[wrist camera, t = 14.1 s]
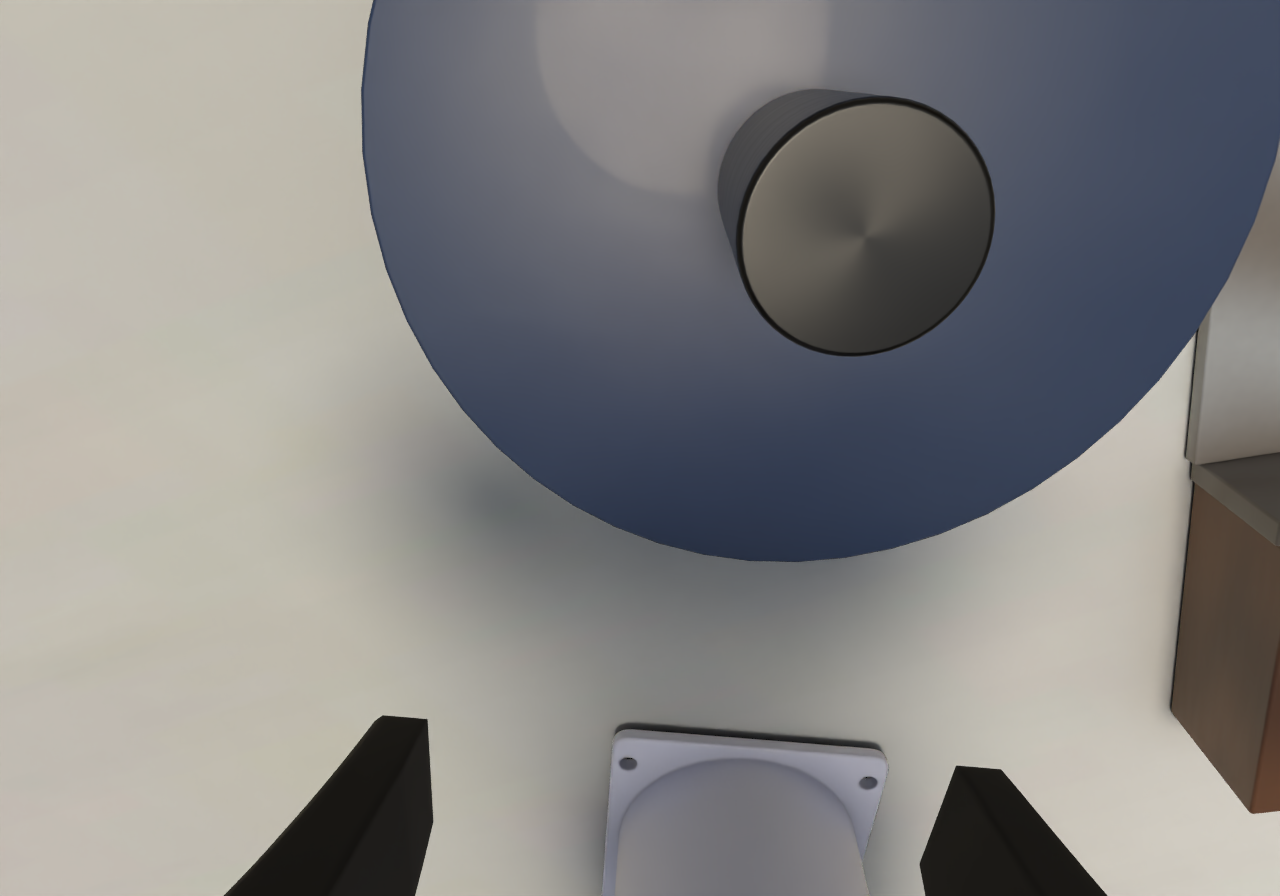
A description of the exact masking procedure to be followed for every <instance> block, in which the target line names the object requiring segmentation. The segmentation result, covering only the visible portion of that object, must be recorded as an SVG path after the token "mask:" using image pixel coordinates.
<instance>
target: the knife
mask: <svg viewBox="0 0 1280 896" xmlns="http://www.w3.org/2000/svg"><path fill="white" fill-rule="evenodd" d="M1186 459H1187V460H1189V461H1190V462H1191V463H1192V471H1191V479H1192V481H1194V482H1195V488H1194V497H1193V507H1192V516H1191V526H1190V535H1189V545H1188V554H1187V564H1186V574H1185V583H1184V593H1183V602H1182V612H1181V621H1180V631H1179V640H1178V650H1177V660H1176V669H1175V679H1174V688H1173V698H1172V707H1171V712H1172V713H1173V715H1174V716H1175V717H1176V718H1177V720H1178V721H1179V722H1180V724H1181V725H1182V726H1183V727H1184V729H1185V730H1186V731H1187V733H1188V734H1189V735H1190V736H1191V738H1192V739H1193V740H1194V742H1195V743H1196V744H1197V745H1198V747H1199V748H1200V749H1201V751H1202V752H1203V753H1204V754H1205V756H1206V757H1207V758H1208V760H1209V761H1210V762H1211V763H1212V765H1213V766H1214V767H1215V768H1216V770H1217V771H1218V772H1219V774H1220V775H1221V776H1222V777H1223V779H1224V780H1225V781H1226V783H1227V784H1228V785H1229V786H1230V788H1231V789H1232V790H1233V792H1234V793H1235V794H1236V795H1237V797H1238V798H1239V799H1240V801H1241V802H1242V803H1243V804H1244V806H1245V807H1246V808H1247V810H1248V811H1249V812H1250V813H1252V814H1256V813H1266V812H1275V811H1280V142H1279V147H1278V151H1277V156H1276V160H1275V163H1274V166H1273V169H1272V172H1271V175H1270V178H1269V181H1268V184H1267V187H1266V190H1265V193H1264V196H1263V199H1262V202H1261V205H1260V208H1259V211H1258V214H1257V217H1256V220H1255V223H1254V225H1253V227H1252V229H1251V231H1250V233H1249V236H1248V238H1247V240H1246V242H1245V244H1244V246H1243V248H1242V251H1241V253H1240V255H1239V257H1238V259H1237V261H1236V263H1235V266H1234V268H1233V270H1232V272H1231V274H1230V276H1229V278H1228V280H1227V282H1226V284H1225V285H1224V287H1223V288H1222V290H1221V292H1220V293H1219V295H1218V297H1217V298H1216V300H1215V302H1214V303H1213V305H1212V307H1211V308H1210V310H1209V311H1208V313H1207V315H1206V316H1205V318H1204V320H1203V321H1202V323H1201V325H1200V326H1199V328H1198V338H1197V349H1196V359H1195V369H1194V379H1193V390H1192V400H1191V410H1190V420H1189V431H1188V441H1187V451H1186Z"/></svg>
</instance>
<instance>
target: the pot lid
mask: <svg viewBox="0 0 1280 896" xmlns="http://www.w3.org/2000/svg"><path fill="white" fill-rule="evenodd" d="M361 103H362V152H363V160H364V167H365V174H366V181H367V188H368V195H369V202H370V209H371V215H372V219H373V222H374V226H375V230H376V234H377V237H378V241H379V245H380V248H381V252H382V256H383V260H384V263H385V267H386V270H387V273H388V275H389V278H390V280H391V283H392V285H393V288H394V290H395V293H396V295H397V298H398V300H399V303H400V305H401V308H402V310H403V313H404V315H405V318H406V320H407V322H408V324H409V326H410V328H411V330H412V331H413V333H414V335H415V337H416V339H417V340H418V342H419V344H420V346H421V348H422V350H423V351H424V353H425V355H426V357H427V359H428V361H429V362H430V364H431V366H432V368H433V369H434V371H435V372H436V373H437V375H438V376H439V378H440V379H441V380H442V382H443V383H444V385H445V386H446V387H447V389H448V390H449V392H450V393H451V394H452V396H453V397H454V399H455V400H456V401H457V403H458V404H459V406H460V407H461V408H462V410H463V411H464V412H465V413H466V414H467V415H468V416H469V417H470V419H471V420H472V421H473V422H474V423H475V424H476V425H477V426H478V427H479V428H480V429H481V431H482V432H483V433H484V434H485V435H486V436H487V437H488V438H489V439H490V440H491V441H492V443H493V444H494V445H495V446H496V447H497V448H498V449H499V450H501V451H502V452H503V453H504V454H505V455H506V456H508V457H509V458H510V459H511V460H512V461H513V462H515V463H516V464H517V465H518V466H519V467H520V468H522V469H523V470H524V471H525V472H526V473H527V474H529V475H530V476H531V477H532V478H533V479H535V480H536V481H538V482H539V483H541V484H542V485H544V486H545V487H546V488H548V489H549V490H551V491H552V492H554V493H555V494H557V495H558V496H560V497H561V498H563V499H564V500H566V501H567V502H569V503H570V504H572V505H573V506H575V507H577V508H579V509H581V510H583V511H585V512H587V513H589V514H591V515H593V516H595V517H597V518H599V519H600V520H602V521H604V522H606V523H608V524H610V525H612V526H614V527H616V528H619V529H622V530H624V531H627V532H630V533H632V534H635V535H638V536H640V537H643V538H646V539H648V540H651V541H654V542H656V543H659V544H663V545H667V546H671V547H675V548H679V549H683V550H687V551H691V552H695V553H699V554H703V555H710V556H717V557H725V558H732V559H740V560H747V561H776V562H803V561H815V560H826V559H838V558H847V557H852V556H857V555H862V554H868V553H873V552H878V551H883V550H888V549H893V548H896V547H899V546H903V545H906V544H909V543H913V542H916V541H919V540H922V539H926V538H929V537H932V536H935V535H939V534H941V533H944V532H946V531H948V530H951V529H953V528H956V527H958V526H960V525H963V524H965V523H967V522H970V521H972V520H974V519H977V518H979V517H982V516H984V515H986V514H988V513H990V512H992V511H994V510H995V509H997V508H999V507H1001V506H1003V505H1005V504H1006V503H1008V502H1010V501H1012V500H1014V499H1015V498H1017V497H1019V496H1021V495H1023V494H1025V493H1026V492H1028V491H1030V490H1032V489H1033V488H1035V487H1036V486H1038V485H1039V484H1041V483H1042V482H1044V481H1045V480H1046V479H1048V478H1049V477H1051V476H1052V475H1054V474H1055V473H1057V472H1058V471H1059V470H1061V469H1062V468H1064V467H1065V466H1067V465H1068V464H1069V463H1071V462H1072V461H1074V460H1075V459H1077V458H1078V457H1079V456H1080V455H1081V454H1083V453H1084V452H1085V451H1086V450H1087V449H1088V448H1090V447H1091V446H1092V445H1093V444H1094V443H1095V442H1097V441H1098V440H1099V439H1100V438H1101V437H1102V436H1104V435H1105V434H1106V433H1107V432H1108V431H1109V430H1111V429H1112V428H1113V427H1114V426H1115V425H1116V424H1118V423H1119V422H1120V421H1121V420H1122V419H1123V418H1124V417H1125V416H1126V415H1127V413H1128V412H1129V411H1130V410H1131V409H1132V408H1133V407H1134V406H1135V405H1136V404H1137V403H1138V402H1139V401H1140V400H1141V399H1142V398H1143V397H1144V396H1145V394H1146V393H1147V392H1148V391H1149V390H1150V389H1151V388H1152V387H1153V386H1154V385H1155V384H1156V383H1157V382H1158V381H1159V380H1160V378H1161V377H1162V376H1163V375H1164V373H1165V372H1166V371H1167V369H1168V368H1169V367H1170V365H1171V364H1172V363H1173V361H1174V360H1175V359H1176V358H1177V356H1178V355H1179V354H1180V352H1181V351H1182V350H1183V348H1184V347H1185V346H1186V344H1187V343H1188V342H1189V341H1190V339H1191V338H1192V337H1193V335H1194V334H1195V333H1196V331H1197V330H1198V328H1199V326H1200V325H1201V323H1202V321H1203V320H1204V318H1205V316H1206V315H1207V313H1208V311H1209V310H1210V308H1211V307H1212V305H1213V303H1214V302H1215V300H1216V298H1217V297H1218V295H1219V293H1220V292H1221V290H1222V288H1223V287H1224V285H1225V284H1226V282H1227V280H1228V278H1229V276H1230V274H1231V272H1232V270H1233V268H1234V266H1235V263H1236V261H1237V259H1238V257H1239V255H1240V253H1241V251H1242V248H1243V246H1244V244H1245V242H1246V240H1247V238H1248V236H1249V233H1250V231H1251V229H1252V227H1253V225H1254V223H1255V220H1256V217H1257V214H1258V211H1259V208H1260V205H1261V202H1262V199H1263V196H1264V193H1265V190H1266V187H1267V184H1268V181H1269V178H1270V175H1271V172H1272V169H1273V166H1274V163H1275V160H1276V156H1277V151H1278V147H1279V142H1280V0H373V4H372V8H371V13H370V17H369V21H368V28H367V38H366V48H365V58H364V67H363V77H362V87H361Z"/></svg>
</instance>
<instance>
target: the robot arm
mask: <svg viewBox="0 0 1280 896" xmlns="http://www.w3.org/2000/svg"><path fill="white" fill-rule="evenodd" d="M626 757H630V758H633V759H630V760H628V759H624V758H626ZM888 771H889V765H888V762H887V759H886V757H885V755H884V753H882V752H881V751H879V750H876V749H870V748H858V747H845V746H833V745H821V744H808V743H796V742H783V741H771V740H758V739H746V738H733V737H721V736H709V735H696V734H684V733H671V732H659V731H646V730H634V729H627V730H622V731H620V732H618V733H617V734H616V735H615V736H614V739H613V744H612V757H611V771H610V785H609V799H608V813H607V827H606V841H605V855H604V869H603V883H602V896H869V891H868V887H867V883H866V879H865V875H864V870H863V866H862V862H863V858H864V855H865V851H866V848H867V844H868V841H869V837H870V834H871V831H872V827H873V824H874V820H875V817H876V813H877V810H878V806H879V803H880V799H881V796H882V792H883V789H884V785H885V782H886V778H887V775H888ZM864 777H870V778H865V779H863V778H864ZM432 825H433V809H432V791H431V773H430V756H429V738H428V720H427V719H418V718H407V717H395V716H384V715H383V716H381V717H380V718H378V719H377V720H376V721H375V722H374V723H373V724H372V726H371V727H370V728H369V729H368V731H367V732H366V733H365V735H364V736H363V737H362V739H361V740H360V741H359V742H358V744H357V745H356V746H355V747H354V749H353V750H352V751H351V752H350V754H349V755H348V756H347V757H346V759H345V760H344V761H343V762H342V764H341V765H340V766H339V767H338V769H337V770H336V771H335V772H334V773H333V775H332V776H331V777H330V778H329V779H328V781H327V782H326V783H325V784H324V785H323V787H322V788H321V789H320V790H319V791H318V793H317V794H316V795H315V796H314V797H313V799H312V800H311V801H310V802H309V803H308V804H307V806H306V807H305V808H304V809H303V810H302V811H301V812H300V813H299V815H298V816H297V817H296V818H295V819H294V820H293V821H292V823H291V824H290V825H289V826H288V827H287V828H286V829H285V830H284V832H283V833H282V834H281V835H280V836H279V837H278V838H277V839H276V841H275V842H274V843H273V844H272V845H271V846H270V847H269V848H268V850H267V851H266V852H265V853H264V854H263V855H262V856H261V857H260V858H259V859H258V861H257V862H256V863H255V864H254V865H253V866H252V867H251V868H250V869H249V870H248V871H247V872H246V873H245V874H244V875H243V876H242V877H241V878H240V880H239V881H238V882H237V883H236V884H235V885H234V886H233V887H232V888H231V889H230V890H229V891H228V892H227V893H226V894H225V895H224V896H415V894H416V890H417V886H418V882H419V878H420V874H421V870H422V866H423V862H424V858H425V854H426V850H427V846H428V841H429V837H430V833H431V829H432ZM920 869H921V874H922V880H923V885H924V890H925V896H1107V895H1106V894H1105V892H1104V891H1103V890H1102V889H1101V888H1100V887H1099V885H1098V884H1097V883H1096V882H1095V881H1094V880H1093V878H1092V877H1091V876H1090V875H1089V874H1088V873H1087V871H1086V870H1085V869H1084V868H1083V867H1082V865H1081V864H1080V863H1079V862H1078V861H1077V859H1076V858H1075V857H1074V856H1073V855H1072V854H1071V852H1070V851H1069V850H1068V849H1067V848H1066V846H1065V845H1064V844H1063V843H1062V842H1061V840H1060V839H1059V838H1058V837H1057V836H1056V834H1055V833H1054V832H1053V831H1052V830H1051V828H1050V827H1049V826H1048V825H1047V824H1046V822H1045V821H1044V820H1043V819H1042V818H1041V816H1040V815H1039V814H1038V813H1037V812H1036V810H1035V809H1034V808H1033V807H1032V806H1031V804H1030V803H1029V802H1028V801H1027V800H1026V798H1025V797H1024V796H1023V795H1022V794H1021V792H1020V791H1019V790H1018V789H1017V788H1016V786H1015V785H1014V784H1013V783H1012V782H1011V781H1010V779H1009V778H1008V777H1007V776H1006V775H1005V774H1004V772H1003V771H1002V770H1001V769H990V768H978V767H967V766H956V768H955V770H954V773H953V776H952V778H951V781H950V784H949V786H948V789H947V792H946V795H945V797H944V800H943V803H942V805H941V808H940V811H939V813H938V816H937V819H936V821H935V824H934V827H933V829H932V832H931V835H930V837H929V840H928V843H927V846H926V848H925V851H924V854H923V856H922V859H921V862H920Z"/></svg>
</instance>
